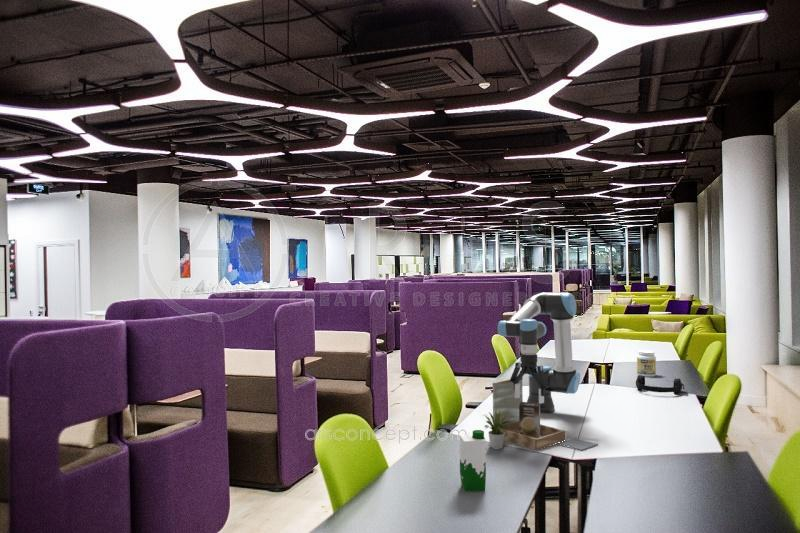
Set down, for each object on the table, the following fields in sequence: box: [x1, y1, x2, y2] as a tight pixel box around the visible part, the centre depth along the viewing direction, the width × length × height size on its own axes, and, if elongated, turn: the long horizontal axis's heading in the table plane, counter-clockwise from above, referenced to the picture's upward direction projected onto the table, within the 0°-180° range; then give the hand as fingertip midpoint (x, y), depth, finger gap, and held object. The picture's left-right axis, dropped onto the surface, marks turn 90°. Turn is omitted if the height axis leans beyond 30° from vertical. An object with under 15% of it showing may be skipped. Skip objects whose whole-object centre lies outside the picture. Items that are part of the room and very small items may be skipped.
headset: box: [635, 374, 685, 395], centre depth 357 cm, size 28×26×9 cm
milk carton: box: [459, 429, 487, 493], centre depth 206 cm, size 9×9×20 cm
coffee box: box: [518, 401, 541, 438], centre depth 263 cm, size 9×6×16 cm
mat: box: [557, 437, 598, 452], centre depth 254 cm, size 12×12×1 cm
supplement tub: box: [636, 350, 657, 378], centre depth 407 cm, size 12×12×17 cm
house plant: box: [482, 411, 515, 450], centre depth 251 cm, size 14×14×16 cm
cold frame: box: [492, 376, 566, 451], centre depth 263 cm, size 25×20×25 cm
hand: (529, 400), depth 262 cm, fingers open, 13 cm apart
